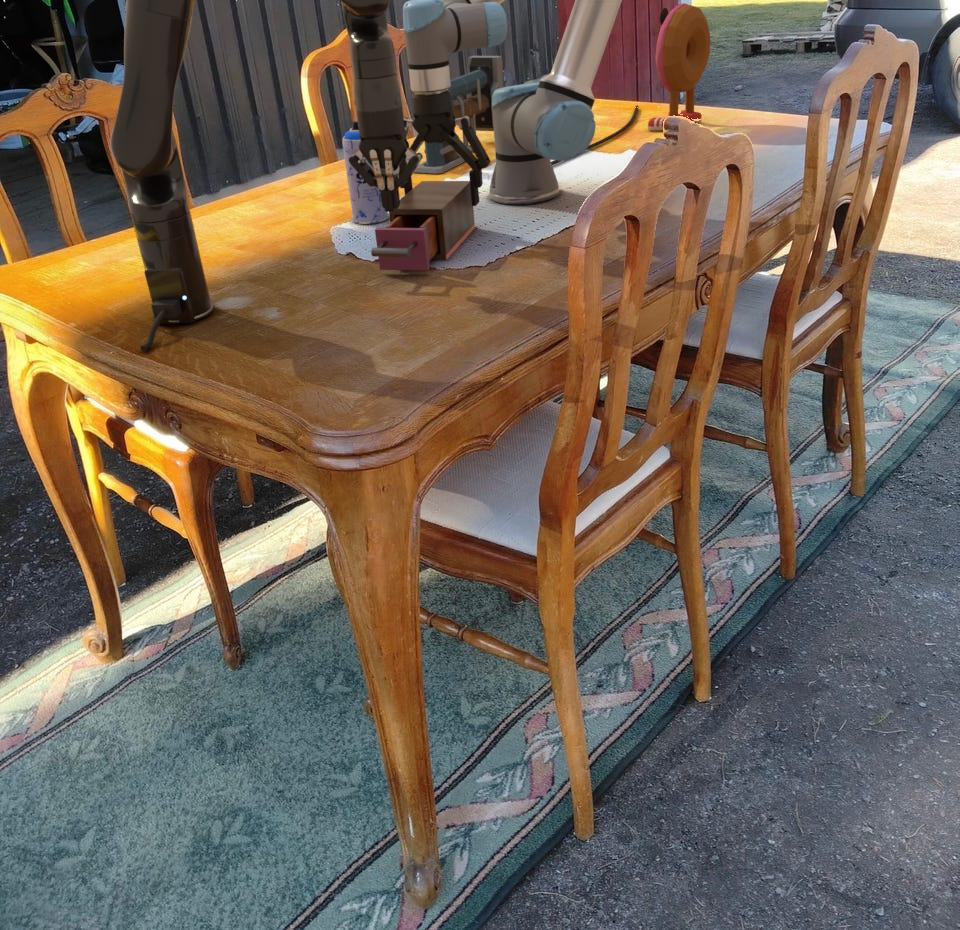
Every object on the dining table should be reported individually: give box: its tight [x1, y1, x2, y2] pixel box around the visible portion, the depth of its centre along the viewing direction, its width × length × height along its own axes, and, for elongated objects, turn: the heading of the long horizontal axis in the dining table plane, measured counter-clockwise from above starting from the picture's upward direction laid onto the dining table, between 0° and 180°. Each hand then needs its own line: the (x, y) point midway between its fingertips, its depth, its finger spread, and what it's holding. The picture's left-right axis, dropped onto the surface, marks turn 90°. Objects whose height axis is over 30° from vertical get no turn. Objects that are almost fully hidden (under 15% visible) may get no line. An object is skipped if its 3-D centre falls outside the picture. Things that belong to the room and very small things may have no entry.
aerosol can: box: [342, 120, 390, 225], centre depth 201 cm, size 8×8×20 cm
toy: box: [647, 2, 711, 131], centre depth 254 cm, size 21×10×30 cm, turn 141°
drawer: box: [370, 215, 440, 272], centre depth 176 cm, size 24×9×7 cm, turn 164°
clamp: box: [413, 55, 504, 175], centre depth 244 cm, size 35×9×21 cm, turn 151°
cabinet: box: [388, 180, 476, 261], centre depth 187 cm, size 19×10×10 cm, turn 164°
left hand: (391, 210), depth 166 cm, fingers closed
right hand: (442, 204), depth 191 cm, fingers open, 13 cm apart
